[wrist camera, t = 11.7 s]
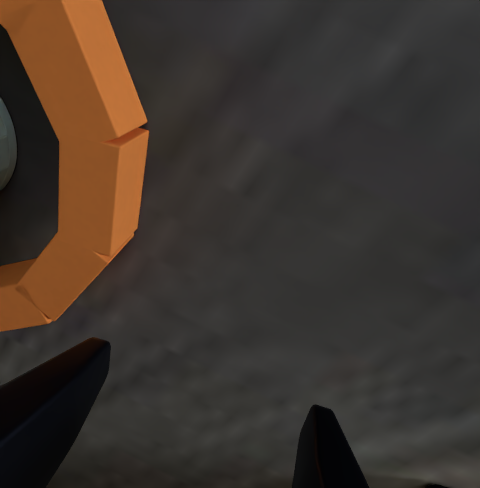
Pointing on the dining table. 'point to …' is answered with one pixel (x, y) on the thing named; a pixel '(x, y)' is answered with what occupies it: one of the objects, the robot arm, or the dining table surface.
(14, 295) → the ring
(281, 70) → the dining table surface
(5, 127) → the cup
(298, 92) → the dining table surface
